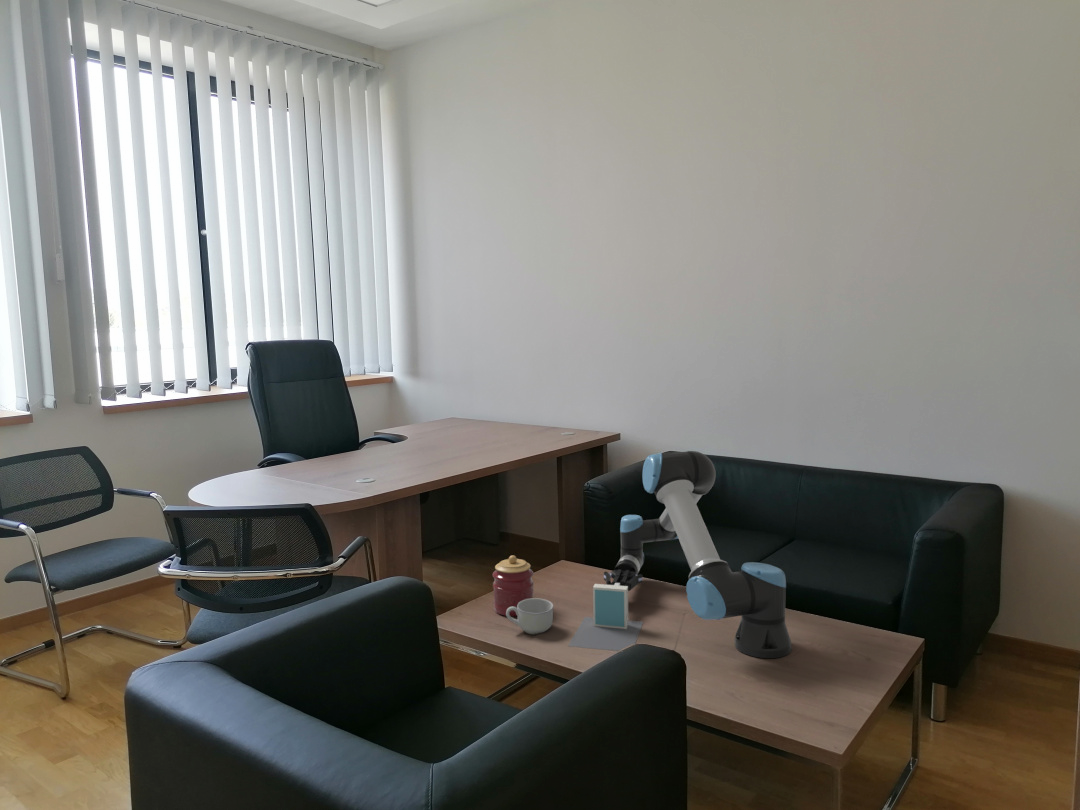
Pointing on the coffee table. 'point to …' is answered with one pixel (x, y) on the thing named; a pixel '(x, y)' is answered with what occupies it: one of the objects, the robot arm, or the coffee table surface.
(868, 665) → the coffee table surface
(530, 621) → the teacup
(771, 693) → the coffee table surface
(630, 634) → the mat
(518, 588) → the canister
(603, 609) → the tile
